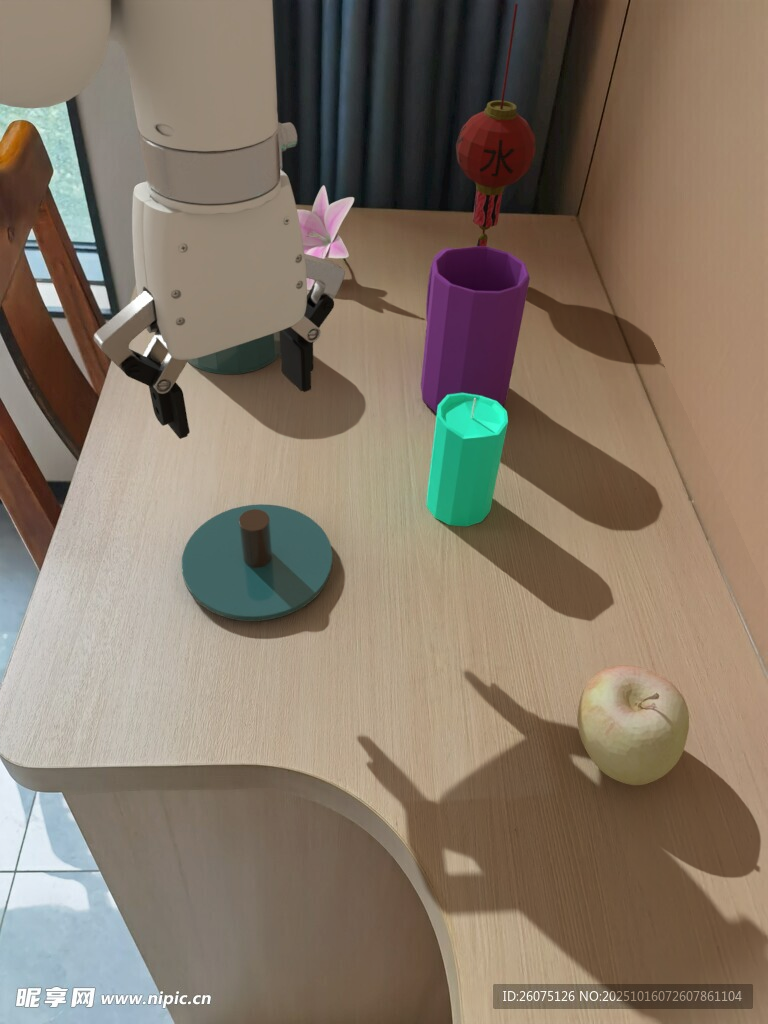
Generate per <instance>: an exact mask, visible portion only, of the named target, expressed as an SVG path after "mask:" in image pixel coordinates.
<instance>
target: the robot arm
mask: <svg viewBox="0 0 768 1024" xmlns="http://www.w3.org/2000/svg"><path fill="white" fill-rule="evenodd" d="M273 5H274V4H273V0H0V105H4V106H6V107H7V106H8V107H13V108H21V109H42V108H43V109H44V108H51V107H54V106H57V105H60V104H62V103H65V102H68V101H70V100H71V99H74V97H76V96H79V94H81V93H82V92H83V91H84V90H85V89H86V88H87V87H88V86H89V85H90V84H91V83H92V82H93V81H94V79H95V78H96V77H97V74H98V73H99V71H100V69H102V66H103V63H104V60H105V57H106V55H107V51H108V47H109V42H115V43H117V44H118V45H119V46H120V47H121V48H122V50H123V52H124V54H125V60H126V65H127V71H128V77H129V83H130V89H131V96H132V100H133V101H132V102H133V107H134V113H135V119H136V125H137V130H138V136H139V142H140V147H141V154H142V160H143V166H144V172H145V177H146V181H143V182H140V183H137V184H136V185H135V186H134V188H133V193H132V205H131V206H132V207H131V208H132V210H131V212H132V213H131V214H132V215H131V230H132V233H131V235H132V254H133V266H134V267H133V268H134V277H135V278H134V279H135V285H136V295H137V296H136V297H135V298H134V299H133V300H131V301H130V302H129V303H128V304H127V305H126V306H125V307H123V308H122V309H121V310H120V311H118V312H117V313H116V314H115V315H114V316H113V317H112V318H111V319H109V320H108V321H107V322H106V323H105V324H103V325H102V326H101V327H100V328H98V329H97V331H95V332H94V334H93V341H94V343H95V344H96V345H97V346H98V348H99V349H100V350H101V351H102V353H104V355H106V356H107V358H109V359H110V360H111V361H112V363H114V364H115V365H116V367H117V368H119V369H120V371H122V372H123V373H124V374H125V375H126V376H127V377H128V378H130V379H133V380H135V381H137V382H139V383H142V384H144V385H146V386H148V389H149V394H150V398H151V403H152V404H151V405H152V409H153V412H154V415H155V418H156V419H157V422H158V423H159V424H160V425H161V426H163V427H164V426H167V425H168V426H169V427H170V429H171V430H172V431H173V433H174V434H175V435H176V436H177V438H178V439H179V440H181V439H184V438H186V437H188V435H189V434H190V427H189V421H188V414H187V410H186V408H187V407H186V403H185V397H184V391H183V390H182V388H181V386H180V385H179V384H178V382H177V381H178V379H179V377H180V375H181V374H182V372H183V370H184V369H185V367H186V365H187V363H189V362H188V360H190V359H195V358H199V357H203V356H206V355H209V354H212V353H215V352H218V351H221V350H224V349H228V348H231V347H234V346H237V345H240V344H243V343H246V342H249V341H252V340H255V339H258V338H261V337H264V336H267V335H269V334H272V333H275V332H278V331H280V332H279V334H280V368H281V373H282V375H284V377H286V378H287V380H288V381H290V383H291V384H293V385H294V387H296V388H297V389H298V390H299V391H300V392H303V393H307V392H308V391H311V390H312V372H313V371H314V342H316V341H317V340H318V339H319V338H320V336H321V329H320V327H321V326H322V325H323V323H324V322H325V320H326V319H327V318H328V316H329V315H330V313H331V312H332V311H333V309H334V308H335V300H334V299H335V297H337V295H338V293H339V290H340V288H341V286H342V283H343V281H344V278H345V277H346V271H345V269H343V267H341V266H339V264H337V263H336V262H335V261H333V260H329V259H327V258H324V259H322V258H319V257H315V256H311V255H308V254H304V247H303V240H302V233H301V228H300V222H299V217H298V212H297V210H298V208H297V204H296V200H295V196H294V192H293V188H292V185H291V182H290V178H289V176H288V175H287V173H285V171H284V170H283V153H284V152H286V151H287V149H290V148H294V147H296V146H297V145H298V132H297V129H296V126H295V125H294V124H293V123H292V122H283V123H282V122H279V114H278V113H279V112H278V92H277V91H278V90H277V71H276V70H277V69H276V49H275V47H276V46H275V28H274V27H275V26H274V7H273ZM306 278H309V279H313V280H315V281H314V284H313V287H312V288H311V289H310V290H309V292H308V290H307V279H306ZM145 330H146V331H147V332H148V334H151V333H152V334H153V333H154V335H152V337H151V339H150V341H149V343H148V345H147V346H146V348H145V350H144V352H143V354H142V353H139V352H137V351H135V350H133V349H131V348H130V344H131V342H132V341H133V340H134V339H136V338H137V337H138V336H139V335H140V334H141V333H143V331H145Z"/></svg>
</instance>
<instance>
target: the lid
mask: <svg viewBox="0 0 768 1024" xmlns="http://www.w3.org/2000/svg"><path fill="white" fill-rule="evenodd" d="M182 552H183V553H182V557H181V566H180V567H181V574H182V579H183V581H184V584H185V586H186V588H187V591H188V592H189V594H190V595H191V597H193V599H194V600H195V601H196V602H197V603H199V604H200V605H201V606H202V607H203V608H205V609H206V610H207V611H210V612H212V613H213V614H216V615H218V616H221V617H223V618H227V619H232V620H235V621H245V622H259V621H268V620H273V619H279V618H281V617H285V616H287V615H290V614H292V613H294V612H296V611H299V610H300V609H302V608H304V607H305V606H307V605H308V604H309V603H311V602H312V601H313V600H314V599H315V598H316V597H318V595H320V593H321V591H323V590H324V588H325V586H326V585H327V583H328V581H329V578H330V576H331V573H332V569H333V548H332V545H331V541H330V539H329V537H328V535H327V534H326V532H325V531H324V529H323V528H322V527H321V526H320V525H319V524H318V523H317V522H316V521H315V520H313V519H312V518H310V517H309V516H307V515H306V514H304V513H302V512H300V511H298V510H296V509H293V508H291V507H286V506H282V505H275V504H262V503H260V504H258V503H257V504H248V505H243V506H238V507H234V508H230V509H228V510H225V511H222V512H221V513H218V514H216V515H214V516H212V517H211V518H209V519H208V520H206V521H205V522H204V523H202V524H201V525H200V526H198V528H197V529H196V530H195V531H194V532H193V534H192V535H191V536H190V537H189V538H188V541H187V543H185V547H184V549H183V551H182Z"/></svg>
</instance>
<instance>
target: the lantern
mask: <svg viewBox="0 0 768 1024" xmlns="http://www.w3.org/2000/svg"><path fill="white" fill-rule="evenodd" d="M518 5H519V4H518V3H516V2H515V3H514V10H513V17H512V23H511V30H510V37H509V45H508V51H507V59H506V66H505V73H504V79H503V86H502V94H501V99H500V100H499V99H498V100H496V99H495V100H490V101H488V102H487V103H486V107H485V108H484V110H483V111H480V112H478V113H476V114H474V115H472V116H471V117H470V118H469V119H468V121H466V123H464V124H463V126H462V127H461V129H460V131H459V134H458V137H457V140H456V142H455V151H456V160H457V163H458V165H459V167H460V169H461V170H462V171H463V173H464V175H465V176H466V177H467V178H468V179H470V180H471V181H473V182H474V185H475V189H476V191H475V198H474V206H473V215H472V222H473V223H474V224H475V225H477V226H478V227H479V228H480V230H482V232H480V233H479V234H478V236H477V241H476V247H477V246H482V247H487V244H488V239H489V238H488V234H486V233H485V232H486V230H489V229H490V228H492V227H495V226H497V224H498V222H499V217H500V209H501V204H502V197H503V192H504V191H505V190H504V189H505V188H506V187H507V186H510V185H512V184H515V183H516V182H518V181H519V180H520V179H521V178H522V177H523V176H524V175H525V174H526V173H528V172H529V170H530V167H531V165H532V162H533V160H534V157H535V155H536V151H537V150H536V136H535V134H534V133H533V131H532V129H531V127H530V125H529V123H528V122H527V120H526V119H525V118H523V117H522V116H521V115H519V113H518V111H517V105H516V104H515V103H513V102H511V101H507V100H505V94H506V88H507V80H508V74H509V67H510V60H511V53H512V45H513V39H514V33H515V26H516V19H517V12H518Z"/></svg>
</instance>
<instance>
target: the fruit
mask: <svg viewBox="0 0 768 1024" xmlns="http://www.w3.org/2000/svg"><path fill="white" fill-rule="evenodd" d="M689 713H690V712H689V707H688V705H687V703H686V700H685V698H684V696H683V694H682V693H681V691H680V690H679V689H678V687H676V685H675V684H673V683H672V682H671V681H670V680H669V679H667V678H666V677H664V676H663V675H661V674H658V673H657V672H654V671H651V670H649V669H646V668H643V667H640V666H635V665H615V666H610V667H607V668H604V669H602V670H601V671H598V672H597V673H595V675H593V677H591V678H590V680H589V681H588V682H587V684H586V685H585V687H584V689H583V690H582V693H581V696H580V698H579V702H578V709H577V719H576V720H577V727H578V733H579V737H580V740H581V742H582V744H583V747H584V749H585V751H586V752H587V755H588V756H589V758H590V759H591V760H592V762H593V763H594V764H595V766H596V767H597V768H598V769H599V770H600V771H601V772H602V773H603V774H604V775H606V776H607V777H609V778H611V779H613V780H614V781H617V782H620V783H622V784H626V785H630V786H643V785H647V784H650V783H652V782H656V781H657V780H660V779H661V778H662V777H664V776H665V775H667V774H668V773H669V772H670V771H671V770H672V769H673V768H674V767H675V766H676V765H677V763H678V762H679V760H680V758H681V757H682V756H683V752H684V750H685V746H686V744H687V740H688V735H689V730H690V714H689Z"/></svg>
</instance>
